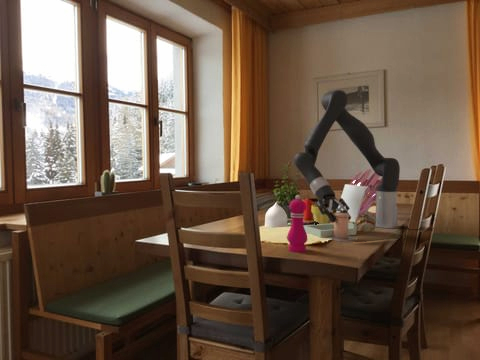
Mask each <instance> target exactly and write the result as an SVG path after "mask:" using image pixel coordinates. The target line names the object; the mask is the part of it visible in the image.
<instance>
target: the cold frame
mask: <svg viewBox="0 0 480 360" xmlns="http://www.w3.org/2000/svg"><path fill="white" fill-rule="evenodd" d="M366 188H367V187H366V186H364V185H362V186H357V185H355V184H353V185H348V183H347V184H344V187H343V191H342V193H341V196H340V199H341V198H342V199H343V200H344V201H345V203H346V204H347V205H348V207H349V208H350V209H349V210H348V211H347V212H348V213H349V215H350V216H351V219H350V220H349V221H348V236H354V235H357V231H358V229H357V228H358V227H357V226H358V218H359V215H358V214H359V210H360V207H361V205H362V203H363V202H364V199H365V198H364V194H365V191H366ZM363 198H364V199H363ZM339 207H340V206H339ZM339 207H338V208H339ZM345 208H346V207H345ZM341 210H342V211H343V209H341ZM336 212H338V211H336ZM350 222H352V223H350ZM303 226H304V229H305V231H306V234H308V235H311V236H314V237H318V238H327V237H329V236H334V223H332V222H331V223H329V224H317V225H315V224H305V225H304V224H303Z"/></svg>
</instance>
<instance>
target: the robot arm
mask: <svg viewBox="0 0 480 360" xmlns="http://www.w3.org/2000/svg"><path fill="white" fill-rule="evenodd" d="M348 99H349V98H348V94H347V93H346V92H345V91H344V90H341V89H336V90H332V91H328V92H326V93H324V94H323V95H322V97H321V102H320V103H321V106H322V108H323V109H324V111H325V112H324V114H322V117H321V118H320V119H319V121H318V122H317V123H316V124H315V125H314V127H313V128H312V129H311V130H310V132H309V134H308V136H307V138H306V140H305V142H304V145H303V146H304V151H301V152H298V153H296V154H295V156H294V157H293V162H294V163H293V164H295V167H296V168H297V169H298V171H299V172H300V173H301V175H302V176H303V178H304V179H305V181H306V182H307V184H308V185H309V187H310V189H311V191H312V193H313V194H314V196H315V198H316V199H317V202H316V204H315V205H317V206H318V208H319V210H320V212H321V213H322V215H324V214H326V216H328V217H329V219H330V222H331V223H334V222H335V221H336V218H335V216H334V212H333V213H332V212H331V210H333V211H336V212H337V211H338V212H344V213H348V212H347V211H348V210H349V209H350V208H349V207H348V205H347V204H346V203H345V201H344V200H343V199H342V198H341V197H340V198H339V199H338V198H336V193H335V191H334V190H333V188H332V186H331V185H330V183H329V182H328V181H327V180H326V178H325V177H324V176H323V174H322V173H321V171H320V170H319V169H318V168H317V167H316V162H317V159H318V158H317V157H318V155H319V151H320V150H321V147H322V145H323V143H324V141H325V139H326V137H327V135H328V133H329V131H330V130H331V128H332V127H333V125H334V124H335V122H336V123H337V124H338V125H339V127H340V128H341V129H342V130H343V132H344V133H345V134H346V135H347V137H348V138H349V139H350V141H351V142H352V143H353V145H355V146H356V148H357V149H358V150H359V152H360V153H361V154H362V155H363V157H364V158H365V159H366V161H367V162H368V163H369V165H370V167H371V169H372V171H373V173H374V172H375V173H376V174H377V175H379V176H380V177H381V178H382V177H383V178H382V182H381V183H380V184H378V185H377V188H376V201H375V213H376V215H375V216H376V224H375V225H376V227H377V228H382V229H394V228H398V216H399V215H398V214H399V211H398V209H399V207H398V206H397V193H398V192H397V191H398V190H397V189H398V187H399V184H400V172H401V171H400V169H401V167H400V163H399V161H398V160H397V159H396V158H393V157H385V156H383V155H382V154H381V152H380V151H379V150H378V149H377V146H376V142H375V138H374V135H373V132H371V131H370V129H369V128H368V127H367V125H366V124H365V123H364V122H362V120H360V119H358V118H357V117H355V116H354V115H352V114H351V113H349V111H348V110H347V109H346V106H347V105H348V101H349V100H348ZM339 206H340V207H339ZM338 207H339V208H338ZM345 207H346V208H345ZM341 209H343V211H342V210H341ZM350 219H351V216H350V215H349V219H348V222H350V221H349V220H350Z"/></svg>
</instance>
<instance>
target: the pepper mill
mask: <svg viewBox="0 0 480 360" xmlns="http://www.w3.org/2000/svg"><path fill="white" fill-rule="evenodd" d="M306 209H307V204H306V202H305V201H304V200H302V199H301V195H299V194H296V195H295V199H293V200H291V201H290V203H289V210H290V211H291V212H290V218H291V226H290V228H289V230H288V233H287V236H286V237H287V241H288V243H289V244H288V251H289V252H292V253H293V252H295V253H302V252H306V250H307V246H306V242H308V235H307V234H308V233H306V231H305V229H304V226H303V225H304V218H305V217H306V216H305V213H304V212H306Z"/></svg>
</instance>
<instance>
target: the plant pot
mask: <svg viewBox="0 0 480 360" xmlns="http://www.w3.org/2000/svg"><path fill="white" fill-rule="evenodd" d="M310 211H311V213H312V217H313V222H314V221H316V222H318V223H319V224H330V222H331V220H330V219H329V217H328V216H326V214H324V215H322V213H321V212H320V210H319V208H318V206H317V205H316V204H312V205H311V210H310ZM331 212H332V213H333V214H334V210H331Z"/></svg>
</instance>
